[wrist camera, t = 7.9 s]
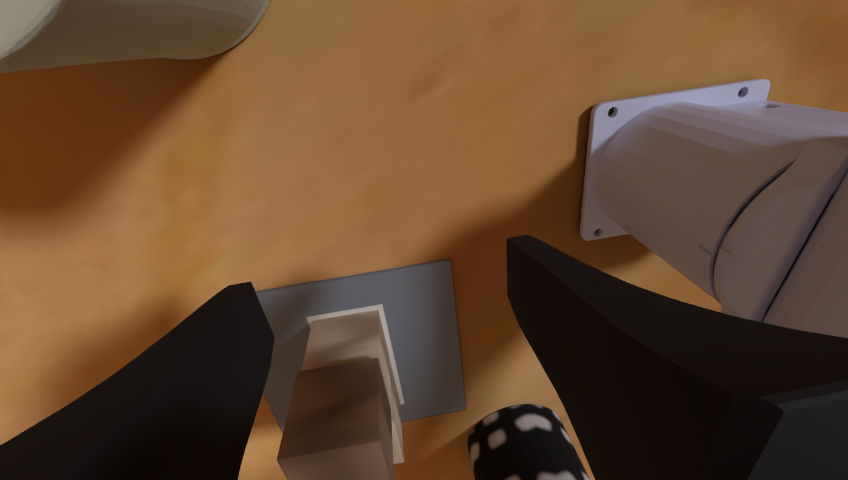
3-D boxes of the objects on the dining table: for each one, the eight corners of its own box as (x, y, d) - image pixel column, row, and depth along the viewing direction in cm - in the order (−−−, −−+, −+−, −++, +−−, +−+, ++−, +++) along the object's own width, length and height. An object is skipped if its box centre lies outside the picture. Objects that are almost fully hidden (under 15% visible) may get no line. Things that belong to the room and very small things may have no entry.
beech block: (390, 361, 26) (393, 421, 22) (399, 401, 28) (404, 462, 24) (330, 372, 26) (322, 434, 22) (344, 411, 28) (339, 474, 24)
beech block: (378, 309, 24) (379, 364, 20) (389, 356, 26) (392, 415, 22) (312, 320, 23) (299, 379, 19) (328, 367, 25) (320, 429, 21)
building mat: (450, 259, 23) (450, 260, 23) (465, 407, 30) (466, 410, 29) (218, 297, 22) (217, 300, 22) (288, 440, 29) (287, 443, 29)
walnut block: (378, 357, 19) (379, 441, 15) (390, 409, 21) (394, 495, 17) (297, 371, 19) (276, 459, 15) (317, 422, 21) (304, 512, 17)
